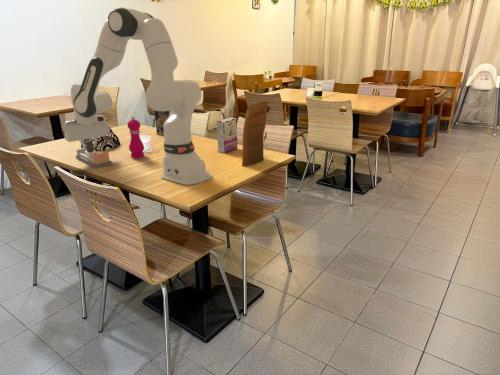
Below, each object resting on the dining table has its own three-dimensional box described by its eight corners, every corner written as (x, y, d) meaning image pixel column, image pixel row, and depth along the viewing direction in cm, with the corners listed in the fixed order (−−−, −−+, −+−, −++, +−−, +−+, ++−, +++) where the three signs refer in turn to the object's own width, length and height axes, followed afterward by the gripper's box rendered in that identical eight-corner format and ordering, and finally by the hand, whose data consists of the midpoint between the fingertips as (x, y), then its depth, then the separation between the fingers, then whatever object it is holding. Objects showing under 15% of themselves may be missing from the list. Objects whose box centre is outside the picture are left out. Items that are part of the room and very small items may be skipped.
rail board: (112, 164, 178) (110, 152, 176) (95, 168, 173) (93, 155, 171) (92, 154, 193) (90, 143, 191) (76, 158, 188) (74, 146, 186)
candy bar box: (230, 147, 205) (229, 117, 199) (237, 148, 203) (237, 118, 197) (217, 152, 197) (216, 120, 191) (224, 153, 194) (224, 121, 188)
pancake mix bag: (271, 158, 186) (272, 100, 175) (247, 168, 171) (247, 106, 161) (260, 156, 189) (260, 99, 179) (236, 166, 175) (235, 104, 165)
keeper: (97, 157, 183) (94, 141, 180) (89, 159, 181) (87, 142, 178) (92, 155, 187) (90, 139, 184) (85, 156, 184) (82, 141, 181)
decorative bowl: (89, 153, 196) (84, 126, 191) (76, 146, 210) (71, 120, 205) (126, 146, 208) (122, 120, 203) (111, 140, 222) (108, 115, 217)
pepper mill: (140, 158, 186) (136, 118, 179) (127, 158, 188) (122, 117, 180) (147, 154, 193) (143, 115, 185) (134, 154, 194) (129, 115, 187)
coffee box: (156, 134, 233) (153, 108, 227) (160, 132, 239) (158, 106, 233) (170, 135, 232) (168, 108, 226) (174, 132, 238) (172, 106, 232)
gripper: (64, 123, 168) (70, 153, 173) (108, 116, 181) (112, 144, 186) (59, 121, 172) (65, 150, 177) (103, 115, 186) (107, 142, 191)
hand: (89, 147), depth 182 cm, fingers closed on keeper, 3 cm apart
